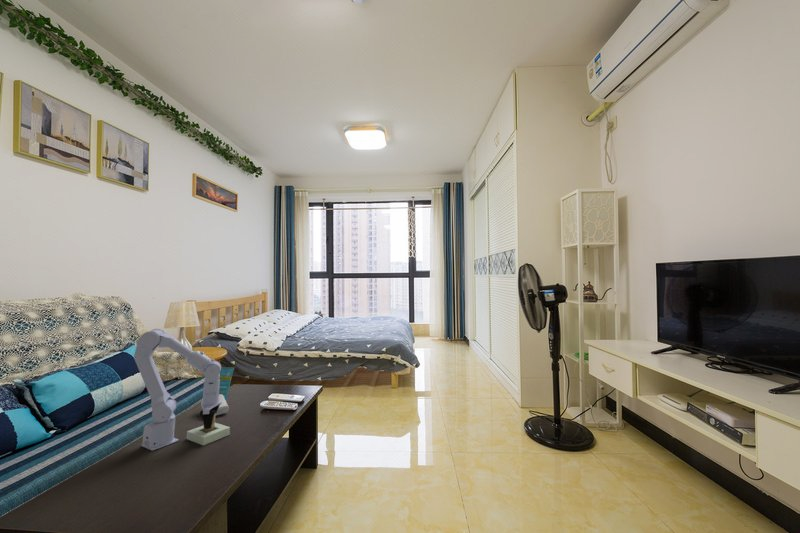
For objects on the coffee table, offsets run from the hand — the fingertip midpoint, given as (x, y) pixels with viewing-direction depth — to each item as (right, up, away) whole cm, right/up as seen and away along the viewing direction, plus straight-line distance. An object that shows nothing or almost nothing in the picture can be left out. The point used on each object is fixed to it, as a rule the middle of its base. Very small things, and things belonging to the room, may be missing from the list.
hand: (209, 426), depth 134 cm
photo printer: (-8, -4, +21) cm, 23 cm away
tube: (-14, -6, +34) cm, 37 cm away
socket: (0, -4, 0) cm, 4 cm away
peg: (0, -3, 0) cm, 3 cm away
